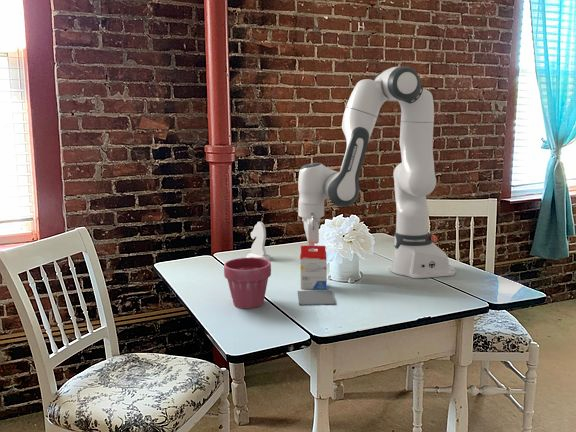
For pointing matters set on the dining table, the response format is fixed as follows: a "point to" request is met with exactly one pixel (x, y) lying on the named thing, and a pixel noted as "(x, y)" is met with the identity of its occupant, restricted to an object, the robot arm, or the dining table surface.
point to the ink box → (313, 267)
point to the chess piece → (259, 242)
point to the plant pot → (247, 280)
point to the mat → (316, 298)
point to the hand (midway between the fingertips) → (311, 250)
